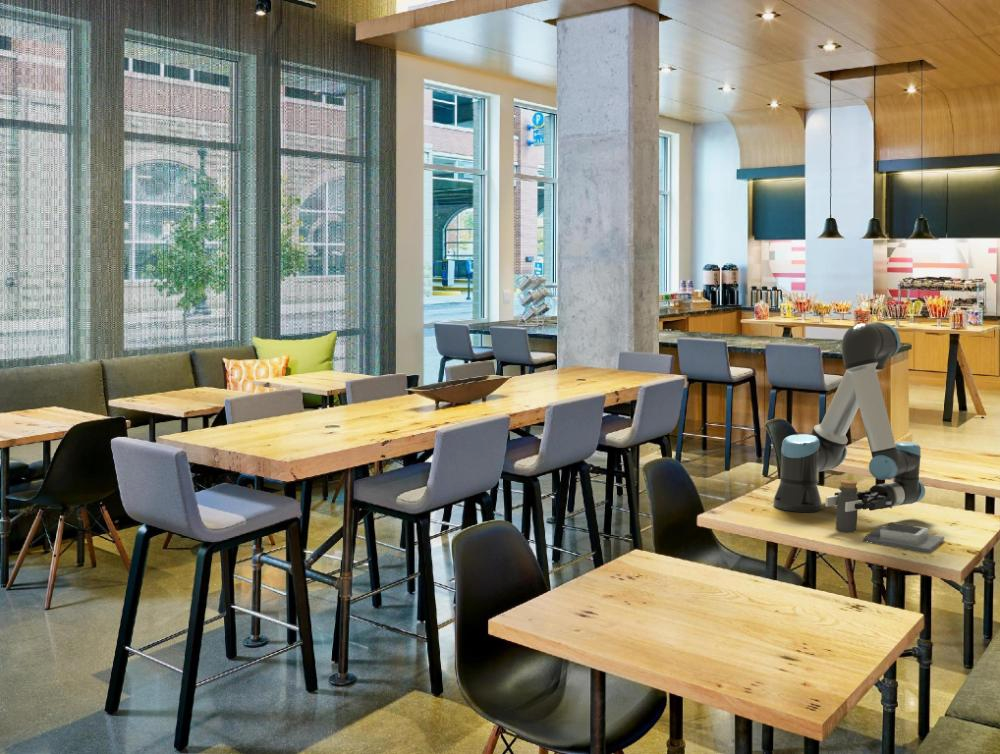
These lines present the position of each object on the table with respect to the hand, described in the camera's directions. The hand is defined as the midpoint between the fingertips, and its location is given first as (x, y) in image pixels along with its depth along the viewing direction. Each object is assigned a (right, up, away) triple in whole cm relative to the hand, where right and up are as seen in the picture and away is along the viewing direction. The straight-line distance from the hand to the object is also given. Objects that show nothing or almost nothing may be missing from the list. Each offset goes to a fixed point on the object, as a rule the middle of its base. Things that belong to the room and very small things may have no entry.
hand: (836, 504), depth 292 cm
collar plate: (+17, -10, -7) cm, 21 cm away
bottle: (+4, -8, +4) cm, 10 cm away
